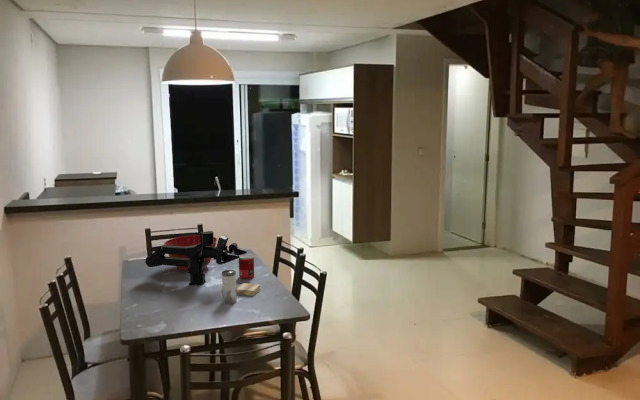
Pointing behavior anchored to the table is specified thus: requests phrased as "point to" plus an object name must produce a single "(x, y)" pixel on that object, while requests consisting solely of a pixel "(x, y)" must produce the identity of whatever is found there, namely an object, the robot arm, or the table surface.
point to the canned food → (246, 266)
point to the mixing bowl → (186, 242)
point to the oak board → (247, 289)
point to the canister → (229, 286)
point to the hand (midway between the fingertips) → (243, 254)
